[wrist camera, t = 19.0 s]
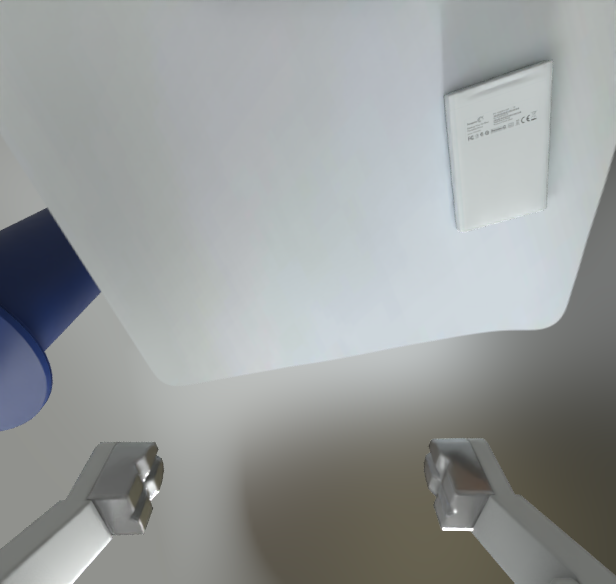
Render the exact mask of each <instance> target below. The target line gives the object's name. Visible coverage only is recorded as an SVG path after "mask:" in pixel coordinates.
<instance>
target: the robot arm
mask: <svg viewBox="0 0 616 584" xmlns="http://www.w3.org/2000/svg"><path fill="white" fill-rule="evenodd" d="M429 449H430V453H429V454H427V455H426V457H425V462H424V472H425V478H426V482H427V486H428V489H429V490H430V491H431V492H432V493H433V494H434V495H435V496H436V499H435V502H434V508H435V511H436V514H437V517H438V520H439V524H440V527H441V530H472V533H473V534H474V536H475V537H476V538H477V539H478V540H479V542H480V543H481V544H482V545H483V546H484V548H485V549H486V550H487V551H488V552H489V553H490V555H492V557H493V558H494V559H495V561H496V562H497V563H498V564H499V565H500V566H501V567H502V569H503V570H504V571H505V572H506V574H507V575H508V576H509V577H510V578H511V579H512V580H513V582H514V583H515V584H616V576H615V575H614V574H613V573H612V572H611V571H610V570H608V569H607V568H606V567H605V566H604V565H602V564H601V563H600V562H599V561H598V560H597V559H595V558H594V557H593V556H592V555H591V554H589V553H588V552H587V551H586V550H585V549H584V548H582V547H581V546H580V545H579V544H578V543H576V542H575V541H574V540H573V539H572V538H571V537H569V536H568V535H567V534H566V533H565V532H563V531H562V530H561V529H560V528H559V527H558V526H557V525H555V524H554V523H553V522H552V521H551V520H549V519H548V518H547V517H546V516H545V515H544V514H542V513H541V512H540V511H539V510H538V509H536V508H535V507H534V506H533V505H532V504H531V503H529V502H528V501H527V500H526V499H525V498H524V497H522V496H521V495H515V494H514V492H513V490H512V488H511V486H510V484H509V482H508V480H507V478H506V477H505V475H504V473H503V471H502V469H501V467H500V465H499V463H498V461H497V460H496V457H495V456H494V454H493V452H492V450H491V448H490V446H489V444H488V442H487V441H486V440H484V439H482V438H474V439H473V438H472V439H465V438H454V439H453V438H452V439H432V440H431V441H430V444H429ZM157 451H158V447H157V445H156V443H155V442H101V443H100V444H99V445H98V446H97V447H96V448H95V449H94V451H93V453H92V455H91V456H90V458H89V460H88V461H87V463H86V465H85V467H84V468H83V470H82V472H81V474H80V475H79V477H78V479H77V481H76V482H75V484H74V486H73V488H72V490H71V491H70V493H69V495H68V496H67V498H66V500H63V501H59V502H57V503H56V504H55V505H54V506H53V507H51V508H50V509H49V510H48V511H47V512H45V513H44V514H43V515H42V516H41V517H39V518H38V519H37V520H35V521H34V522H33V523H32V524H31V525H29V526H28V527H27V528H26V529H25V530H23V531H22V532H21V533H20V534H18V535H17V536H16V537H15V538H13V539H12V540H11V541H10V542H9V543H7V544H6V545H5V546H4V547H3V548H1V549H0V584H73V583H74V581H75V580H76V579H77V578H78V577H79V576H80V575H81V573H82V572H83V571H84V570H85V569H86V568H87V566H88V565H89V564H90V563H91V562H92V561H93V560H94V559H95V557H96V556H97V555H98V554H99V553H100V552H101V550H102V549H103V548H104V547H105V546H106V545H107V544H108V542H109V541H110V540H111V539H112V538H113V536H112V535H134V534H144V532H145V529H146V527H147V524H148V521H149V518H150V515H151V513H152V510H153V507H152V504H151V501H150V500H151V499H152V498H153V497H154V496H155V495H156V494H157V493H158V492H159V490H160V486H161V484H162V479H163V472H164V468H163V462H162V458H160V457H159V456H157V455H156V454H157Z"/></svg>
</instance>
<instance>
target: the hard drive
mask: <svg viewBox="0 0 616 584" xmlns="http://www.w3.org/2000/svg"><path fill="white" fill-rule="evenodd" d="M552 75H553V60H548V61H543V62H539V63H536V64H533V65H530V66H527V67H524V68H521V69H518V70H515V71H512V72H510V73H507V74H504V75H501V76H498V77H495V78H492V79H489V80H486V81H483V82H480V83H477V84H474V85H471V86H468V87H466V88H463V89H460V90H457V91H454V92H451V93H448V94H446V95H444V102H445V113H446V125H447V135H448V145H449V156H450V167H451V177H452V187H453V198H454V208H455V219H456V228H457V230H458V231H459V232H461V233H462V232H468V231H471V230H475V229H478V228H482V227H486V226H489V225H493V224H496V223H500V222H503V221H507V220H511V219H514V218H518V217H521V216H525V215H528V214H532V213H535V212H539V211H542V210H545V209H546V208H547V187H548V165H549V143H550V120H551V96H552Z"/></svg>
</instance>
